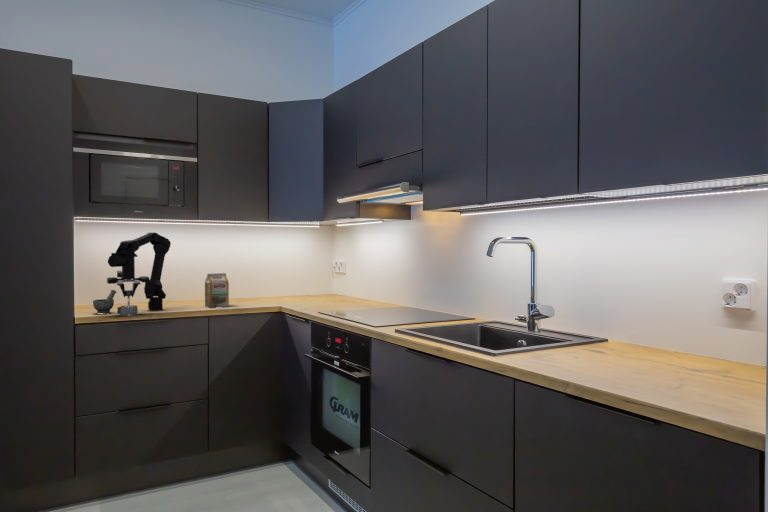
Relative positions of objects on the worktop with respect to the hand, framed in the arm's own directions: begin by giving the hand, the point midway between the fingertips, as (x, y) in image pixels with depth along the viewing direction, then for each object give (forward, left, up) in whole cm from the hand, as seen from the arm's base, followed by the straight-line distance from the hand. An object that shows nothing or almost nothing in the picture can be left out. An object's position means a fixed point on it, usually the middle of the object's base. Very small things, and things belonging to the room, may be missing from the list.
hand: (128, 297), depth 261 cm
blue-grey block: (0, 0, -9) cm, 9 cm away
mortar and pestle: (+9, -13, -9) cm, 18 cm away
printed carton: (-47, -11, -9) cm, 49 cm away
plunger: (0, 0, -5) cm, 5 cm away
